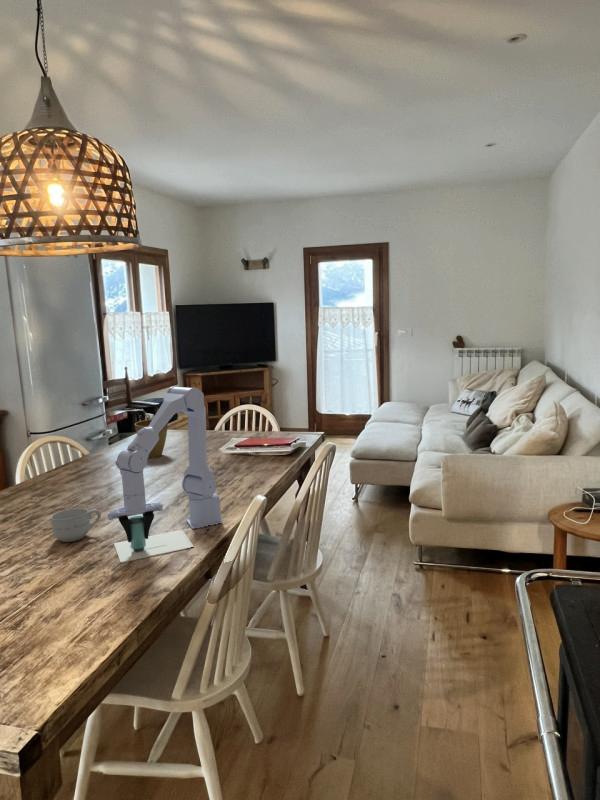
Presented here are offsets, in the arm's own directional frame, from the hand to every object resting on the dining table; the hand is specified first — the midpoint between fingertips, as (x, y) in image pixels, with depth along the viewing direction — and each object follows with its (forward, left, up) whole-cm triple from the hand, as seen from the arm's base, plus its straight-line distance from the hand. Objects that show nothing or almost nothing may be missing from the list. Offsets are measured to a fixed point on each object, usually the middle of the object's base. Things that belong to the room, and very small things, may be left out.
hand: (137, 539), depth 156 cm
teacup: (+15, -20, -4) cm, 25 cm away
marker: (0, 0, -3) cm, 3 cm away
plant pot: (-24, -106, -4) cm, 109 cm away
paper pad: (-4, -2, -4) cm, 6 cm away
